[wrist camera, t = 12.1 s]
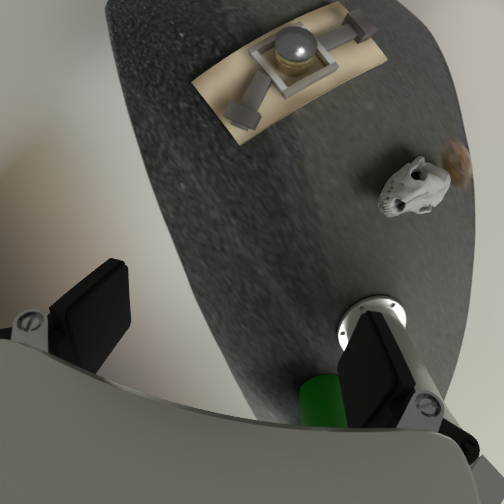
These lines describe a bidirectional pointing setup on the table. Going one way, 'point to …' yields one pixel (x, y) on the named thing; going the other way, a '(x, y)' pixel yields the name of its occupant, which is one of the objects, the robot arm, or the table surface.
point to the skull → (414, 189)
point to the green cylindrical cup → (322, 402)
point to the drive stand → (284, 87)
